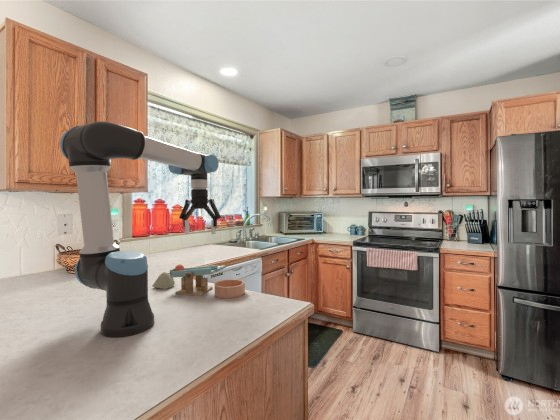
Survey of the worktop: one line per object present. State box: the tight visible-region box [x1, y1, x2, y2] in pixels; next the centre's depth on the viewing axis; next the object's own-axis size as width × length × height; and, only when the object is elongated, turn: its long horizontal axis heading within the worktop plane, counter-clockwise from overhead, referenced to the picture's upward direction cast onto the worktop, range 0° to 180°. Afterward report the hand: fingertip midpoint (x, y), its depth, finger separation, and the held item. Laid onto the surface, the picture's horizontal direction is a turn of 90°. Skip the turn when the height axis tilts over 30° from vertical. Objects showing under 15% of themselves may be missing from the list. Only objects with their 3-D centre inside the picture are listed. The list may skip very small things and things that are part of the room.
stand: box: [175, 272, 214, 297], centre depth 130 cm, size 11×12×9 cm
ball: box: [174, 264, 185, 271], centre depth 132 cm, size 4×4×4 cm
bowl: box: [213, 278, 246, 299], centre depth 126 cm, size 13×13×4 cm
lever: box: [169, 264, 227, 279], centre depth 134 cm, size 14×20×3 cm
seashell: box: [151, 272, 176, 289], centre depth 138 cm, size 8×8×8 cm
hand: (200, 233), depth 138 cm, fingers open, 13 cm apart
